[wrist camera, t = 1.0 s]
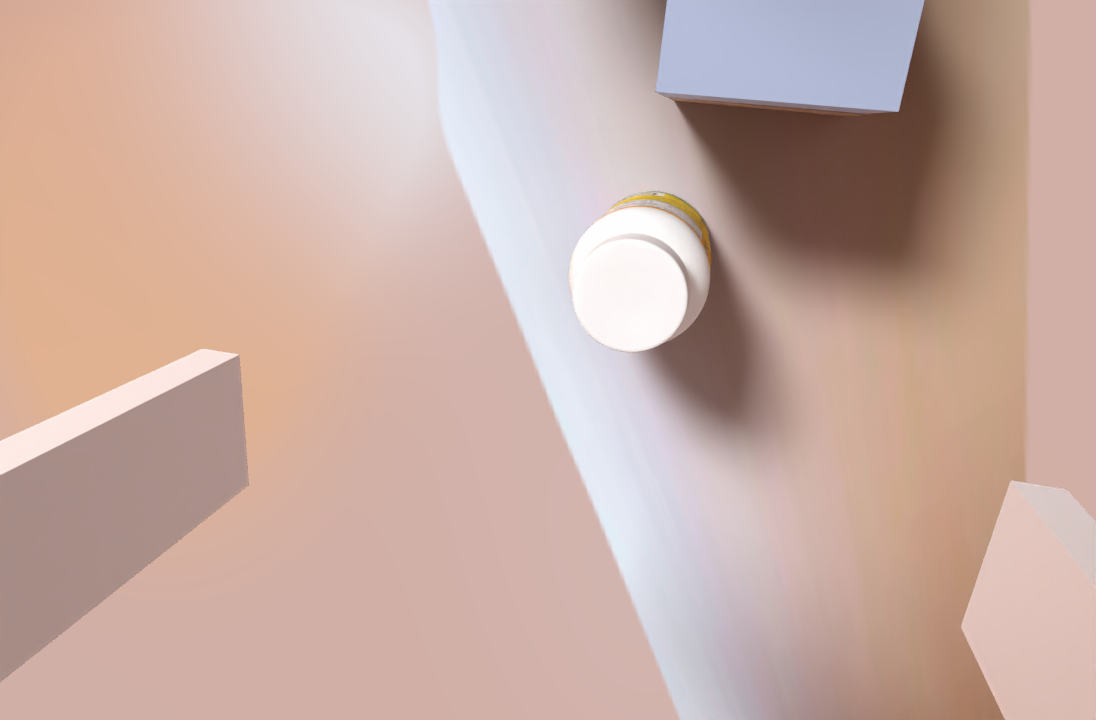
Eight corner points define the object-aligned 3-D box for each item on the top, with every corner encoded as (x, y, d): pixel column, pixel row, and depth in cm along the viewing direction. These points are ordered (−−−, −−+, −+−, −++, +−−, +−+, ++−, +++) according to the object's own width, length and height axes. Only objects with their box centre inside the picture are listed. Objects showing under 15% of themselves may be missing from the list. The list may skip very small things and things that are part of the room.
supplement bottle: (637, 166, 32) (608, 183, 23) (736, 233, 32) (744, 276, 23) (573, 264, 34) (524, 314, 25) (666, 327, 34) (649, 399, 25)
